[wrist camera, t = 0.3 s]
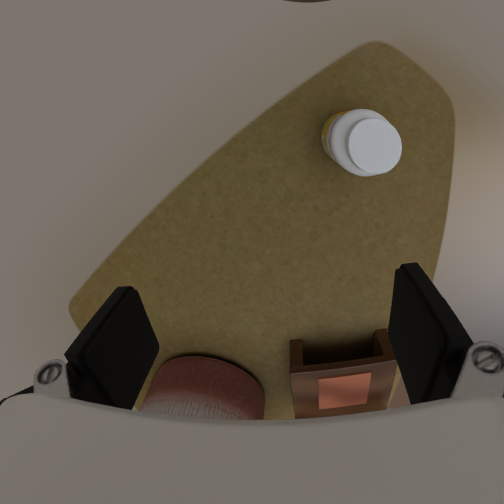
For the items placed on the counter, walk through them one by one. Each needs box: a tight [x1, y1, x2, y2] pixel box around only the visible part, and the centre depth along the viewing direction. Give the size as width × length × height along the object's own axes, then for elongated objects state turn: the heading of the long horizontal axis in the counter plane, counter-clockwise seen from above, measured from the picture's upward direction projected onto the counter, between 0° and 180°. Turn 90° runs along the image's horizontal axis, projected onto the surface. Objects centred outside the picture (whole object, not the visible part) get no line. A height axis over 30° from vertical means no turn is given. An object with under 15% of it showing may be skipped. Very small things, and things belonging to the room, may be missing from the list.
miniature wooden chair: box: [290, 329, 397, 419], centre depth 34 cm, size 12×13×10 cm
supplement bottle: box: [321, 109, 402, 176], centre depth 22 cm, size 5×5×10 cm
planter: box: [140, 356, 265, 420], centre depth 37 cm, size 18×18×16 cm
